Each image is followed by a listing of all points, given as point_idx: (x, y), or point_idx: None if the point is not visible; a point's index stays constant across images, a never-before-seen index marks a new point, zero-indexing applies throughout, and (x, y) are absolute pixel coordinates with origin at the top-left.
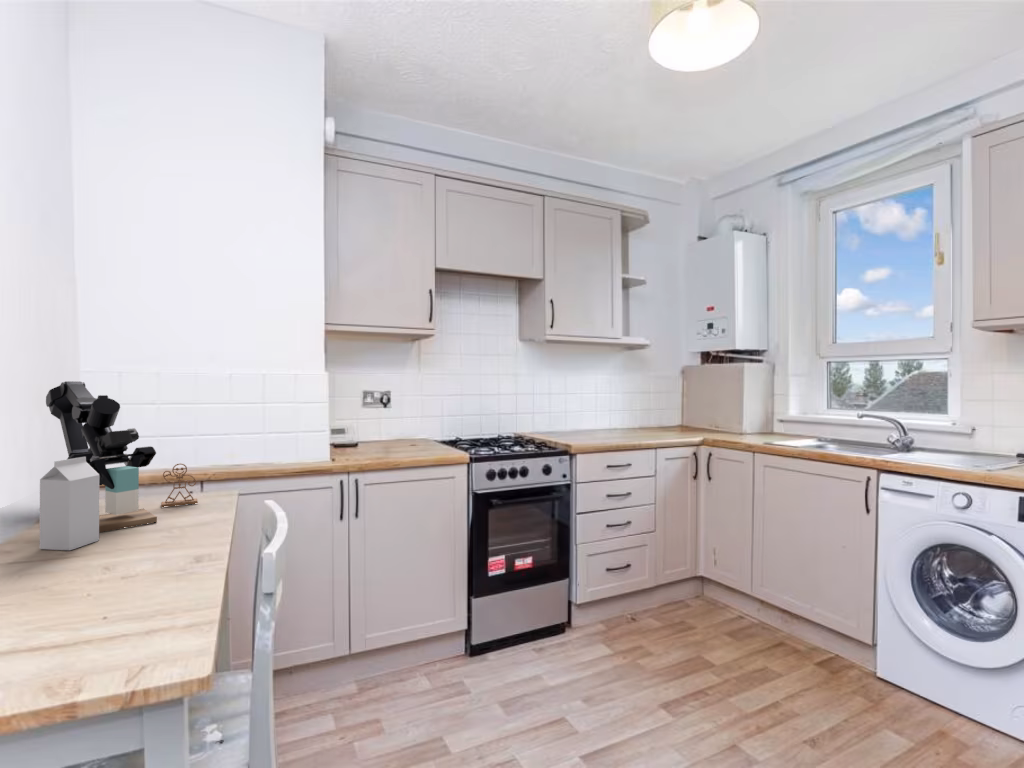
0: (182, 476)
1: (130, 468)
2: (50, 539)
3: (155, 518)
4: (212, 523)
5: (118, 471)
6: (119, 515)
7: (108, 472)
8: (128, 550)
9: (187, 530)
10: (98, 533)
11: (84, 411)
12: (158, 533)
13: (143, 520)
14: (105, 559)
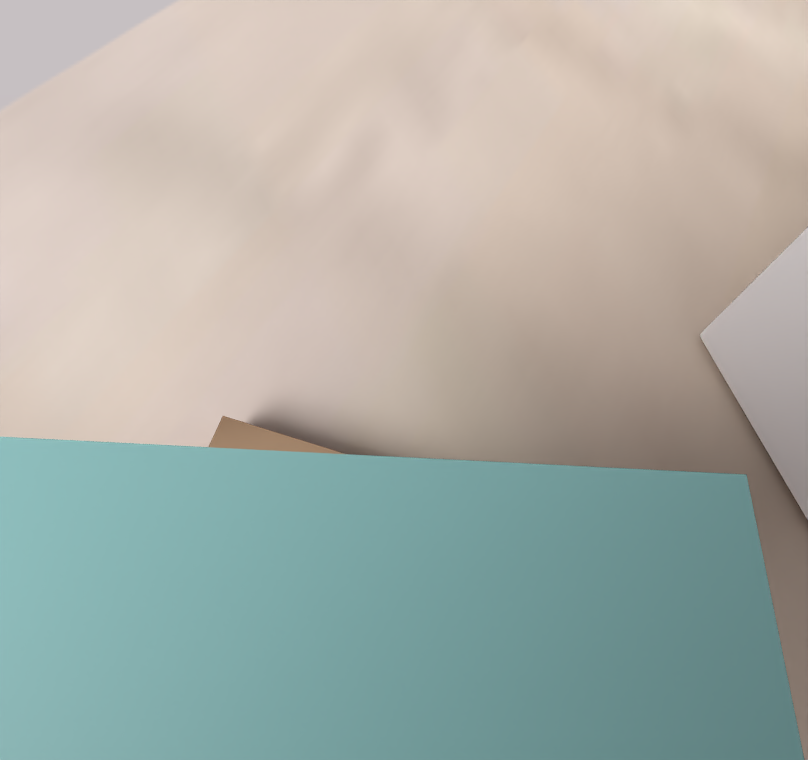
0: None
1: (224, 506)
2: None
3: (236, 423)
4: (120, 109)
5: (662, 489)
6: None
7: None
8: (658, 75)
9: (296, 111)
10: (727, 307)
11: None
12: (413, 190)
13: (321, 451)
14: (770, 52)
